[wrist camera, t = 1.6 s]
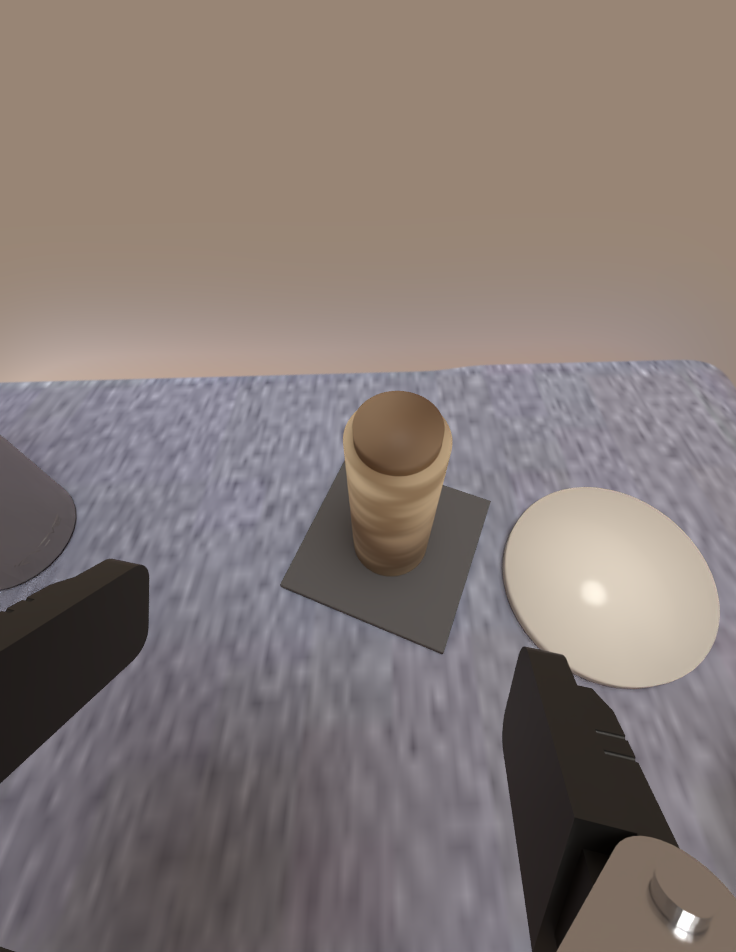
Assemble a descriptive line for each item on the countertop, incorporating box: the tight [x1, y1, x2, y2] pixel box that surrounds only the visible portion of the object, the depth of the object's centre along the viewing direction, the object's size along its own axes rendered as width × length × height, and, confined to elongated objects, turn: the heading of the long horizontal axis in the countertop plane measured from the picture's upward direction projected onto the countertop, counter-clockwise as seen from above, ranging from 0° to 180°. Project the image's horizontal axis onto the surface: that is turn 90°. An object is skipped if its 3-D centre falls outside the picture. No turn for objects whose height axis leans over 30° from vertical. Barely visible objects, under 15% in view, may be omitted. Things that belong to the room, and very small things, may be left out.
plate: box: [502, 487, 720, 689], centre depth 32 cm, size 14×14×1 cm
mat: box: [280, 461, 491, 654], centre depth 34 cm, size 12×12×1 cm
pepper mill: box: [343, 391, 452, 576], centre depth 28 cm, size 5×5×14 cm
